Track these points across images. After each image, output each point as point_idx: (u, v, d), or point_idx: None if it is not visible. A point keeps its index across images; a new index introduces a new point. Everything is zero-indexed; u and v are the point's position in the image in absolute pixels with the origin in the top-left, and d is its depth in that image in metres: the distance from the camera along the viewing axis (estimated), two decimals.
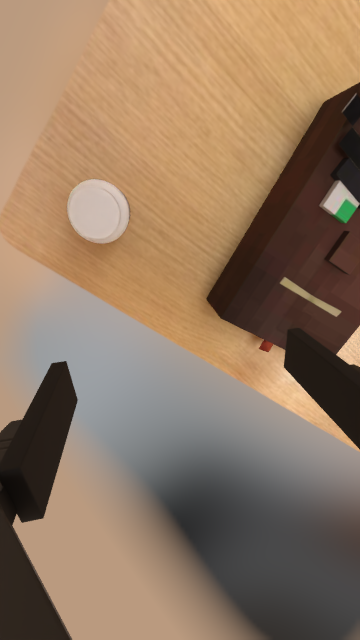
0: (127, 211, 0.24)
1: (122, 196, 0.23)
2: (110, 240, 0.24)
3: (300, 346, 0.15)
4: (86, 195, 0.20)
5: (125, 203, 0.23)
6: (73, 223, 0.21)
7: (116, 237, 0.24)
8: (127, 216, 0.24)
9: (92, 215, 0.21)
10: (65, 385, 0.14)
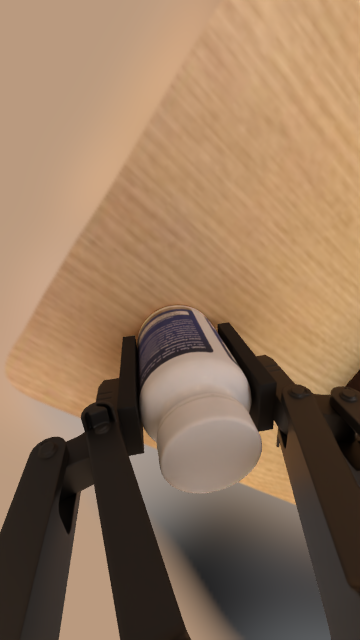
0: (250, 403, 0.13)
1: (246, 382, 0.12)
2: None
3: (224, 339, 0.16)
4: (202, 434, 0.09)
5: (249, 393, 0.12)
6: (168, 478, 0.10)
7: None
8: (249, 410, 0.13)
9: (207, 461, 0.10)
10: (136, 355, 0.16)
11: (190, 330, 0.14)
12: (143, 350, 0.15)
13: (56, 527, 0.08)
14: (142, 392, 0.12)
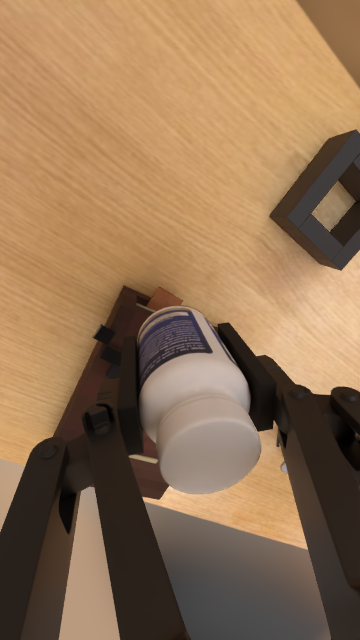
0: (250, 404, 0.13)
1: (245, 383, 0.12)
2: None
3: (224, 339, 0.16)
4: (201, 435, 0.09)
5: (249, 394, 0.12)
6: (167, 479, 0.10)
7: None
8: None
9: (206, 462, 0.10)
10: None
11: (189, 331, 0.14)
12: (143, 351, 0.15)
13: (56, 527, 0.08)
14: (141, 393, 0.12)
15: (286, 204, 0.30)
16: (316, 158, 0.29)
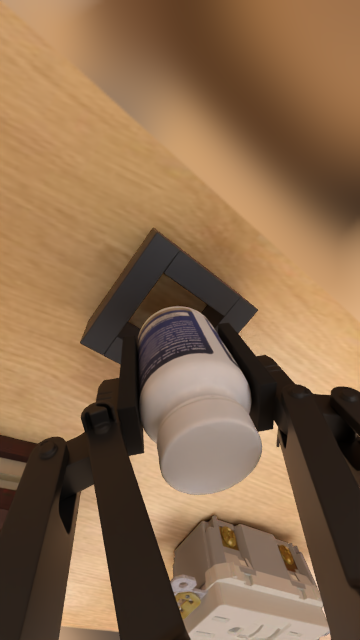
0: (250, 404, 0.13)
1: (246, 383, 0.12)
2: None
3: (224, 339, 0.16)
4: (202, 435, 0.09)
5: (249, 394, 0.12)
6: (168, 480, 0.10)
7: None
8: (249, 411, 0.13)
9: (207, 462, 0.10)
10: (137, 355, 0.16)
11: (190, 332, 0.14)
12: (143, 351, 0.15)
13: (56, 527, 0.08)
14: (142, 393, 0.12)
15: (94, 316, 0.22)
16: (135, 254, 0.21)
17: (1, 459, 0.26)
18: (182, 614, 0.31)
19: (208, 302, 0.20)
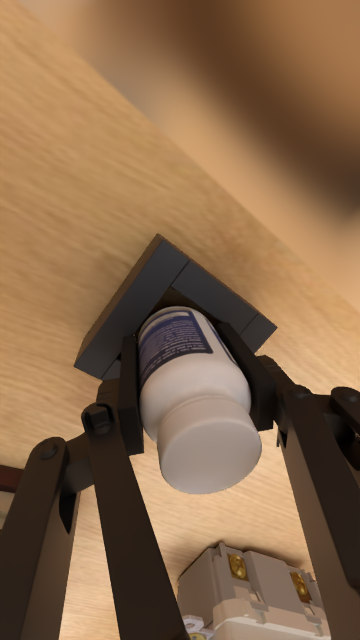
0: (250, 404, 0.13)
1: (245, 383, 0.12)
2: None
3: (224, 339, 0.16)
4: (202, 435, 0.09)
5: (249, 394, 0.12)
6: (168, 479, 0.10)
7: None
8: (249, 411, 0.13)
9: (207, 462, 0.10)
10: (137, 355, 0.16)
11: (190, 332, 0.14)
12: (143, 351, 0.15)
13: (56, 527, 0.08)
14: (142, 393, 0.12)
15: (90, 334, 0.19)
16: (137, 264, 0.19)
17: None
18: None
19: (221, 319, 0.18)
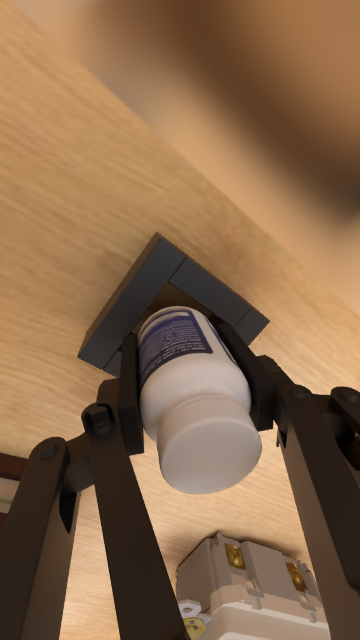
0: (250, 404, 0.13)
1: (245, 383, 0.12)
2: None
3: (224, 339, 0.16)
4: (202, 435, 0.09)
5: (249, 394, 0.12)
6: (168, 479, 0.10)
7: None
8: (249, 411, 0.13)
9: (207, 462, 0.10)
10: (137, 355, 0.16)
11: (190, 332, 0.14)
12: (143, 351, 0.15)
13: (56, 527, 0.08)
14: (142, 393, 0.12)
15: (93, 327, 0.20)
16: (137, 261, 0.20)
17: None
18: None
19: (216, 313, 0.19)
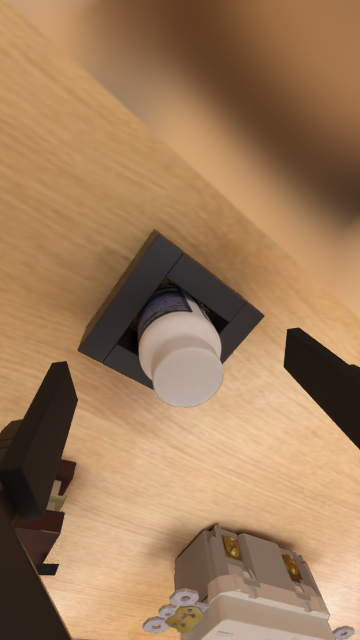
0: (220, 351, 0.17)
1: (216, 334, 0.17)
2: None
3: (300, 346, 0.15)
4: (181, 359, 0.14)
5: (219, 342, 0.17)
6: (158, 393, 0.15)
7: None
8: None
9: (185, 381, 0.15)
10: (65, 385, 0.14)
11: (177, 300, 0.18)
12: (142, 316, 0.19)
13: None
14: (141, 341, 0.16)
15: (92, 322, 0.21)
16: (135, 257, 0.20)
17: None
18: (184, 628, 0.30)
19: (212, 307, 0.19)
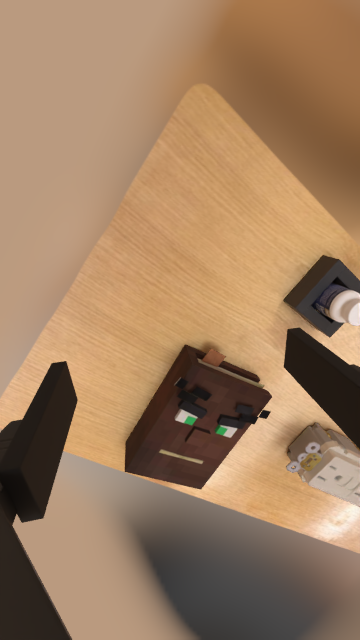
0: None
1: None
2: None
3: (300, 346, 0.15)
4: None
5: None
6: (349, 318, 0.40)
7: None
8: None
9: (359, 314, 0.40)
10: (65, 385, 0.14)
11: (340, 286, 0.44)
12: (322, 293, 0.44)
13: None
14: (333, 301, 0.42)
15: (294, 297, 0.46)
16: (314, 268, 0.46)
17: (230, 372, 0.50)
18: (309, 468, 0.56)
19: (352, 289, 0.45)
